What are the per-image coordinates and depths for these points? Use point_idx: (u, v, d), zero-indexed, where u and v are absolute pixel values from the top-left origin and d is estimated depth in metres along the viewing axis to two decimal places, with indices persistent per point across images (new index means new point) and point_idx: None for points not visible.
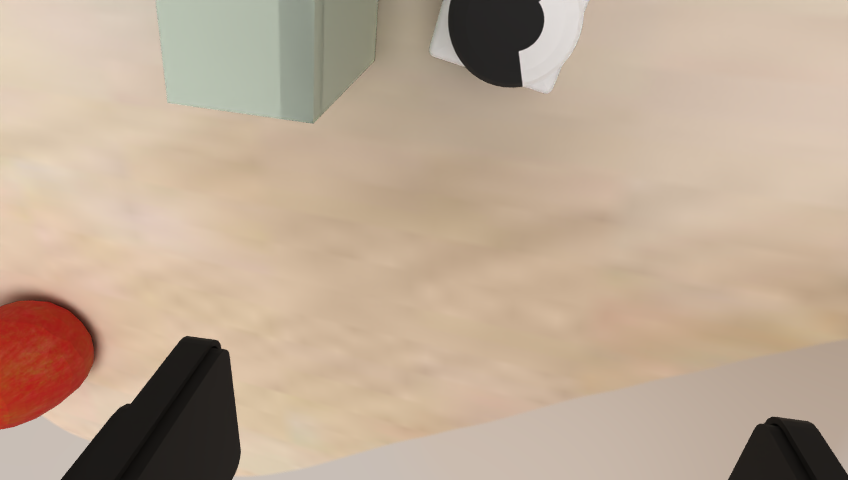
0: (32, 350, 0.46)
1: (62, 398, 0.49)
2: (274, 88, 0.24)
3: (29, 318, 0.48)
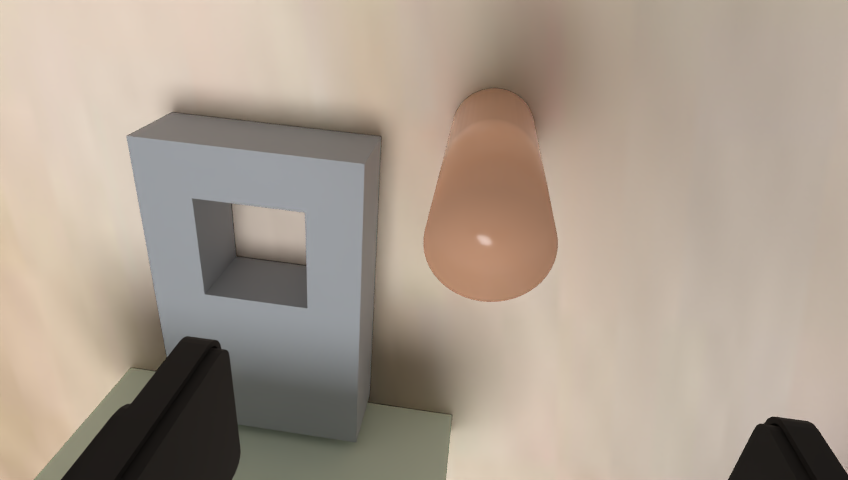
0: None
1: None
2: None
3: None
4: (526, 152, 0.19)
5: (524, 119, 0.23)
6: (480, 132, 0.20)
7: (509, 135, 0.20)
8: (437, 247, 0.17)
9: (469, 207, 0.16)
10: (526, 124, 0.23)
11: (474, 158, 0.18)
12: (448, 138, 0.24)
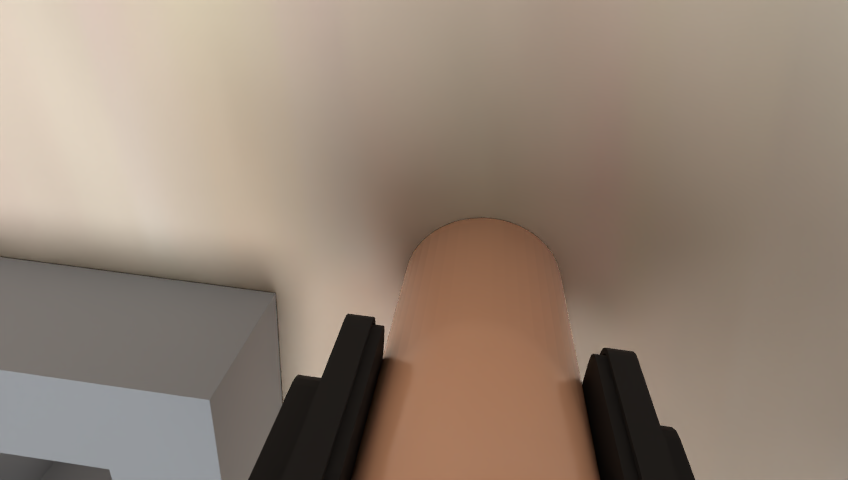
0: None
1: None
2: None
3: None
4: None
5: (549, 329, 0.10)
6: (440, 451, 0.07)
7: (518, 471, 0.07)
8: None
9: None
10: (555, 352, 0.10)
11: None
12: None
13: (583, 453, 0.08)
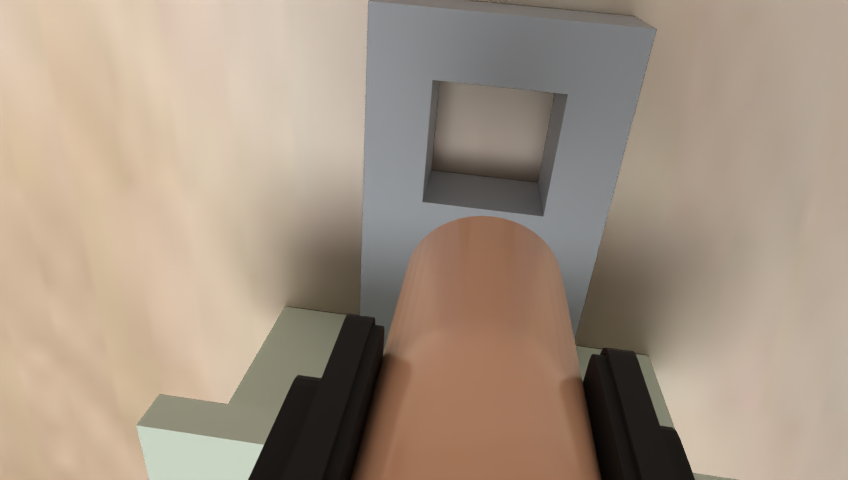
0: None
1: None
2: None
3: None
4: None
5: (550, 327, 0.10)
6: (440, 449, 0.07)
7: (519, 468, 0.07)
8: None
9: None
10: (556, 349, 0.10)
11: None
12: None
13: (584, 451, 0.08)
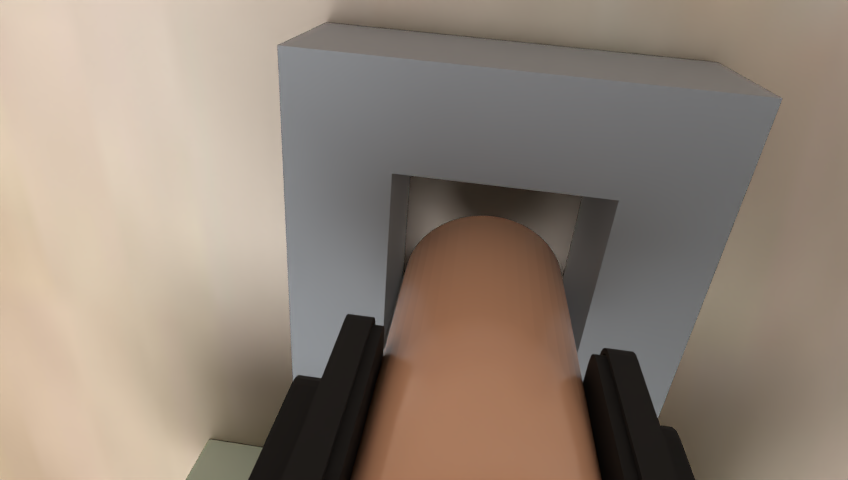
0: None
1: None
2: None
3: None
4: None
5: (550, 326, 0.10)
6: (440, 449, 0.07)
7: (518, 468, 0.07)
8: None
9: None
10: (556, 349, 0.10)
11: None
12: None
13: (584, 450, 0.08)
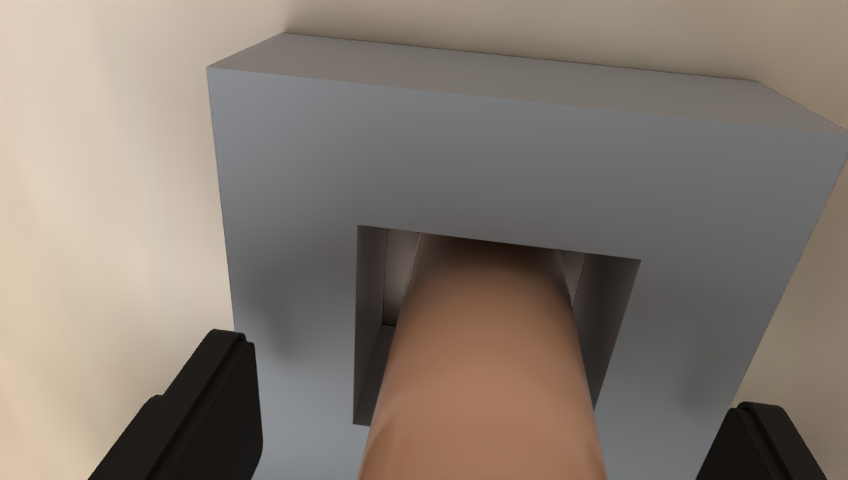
0: None
1: None
2: None
3: None
4: (568, 458, 0.08)
5: (549, 285, 0.12)
6: (455, 375, 0.09)
7: (522, 389, 0.08)
8: None
9: None
10: (554, 303, 0.11)
11: None
12: (401, 304, 0.13)
13: (578, 383, 0.09)
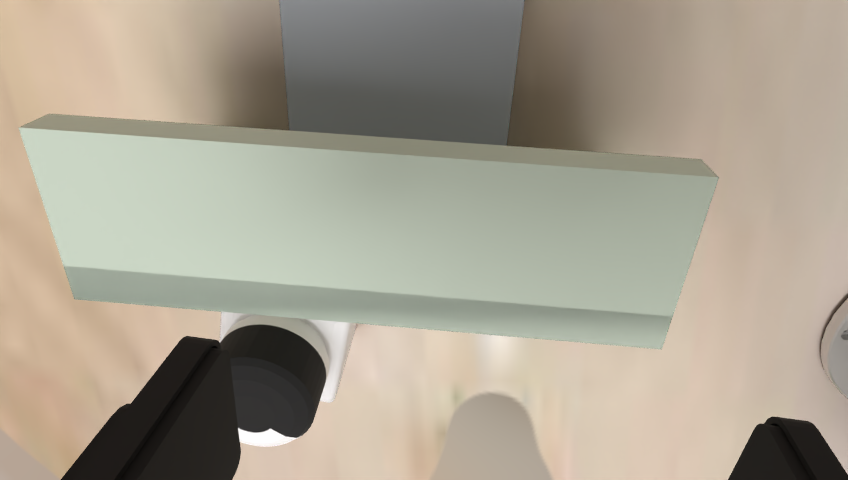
0: None
1: None
2: (97, 263, 0.20)
3: None
4: None
5: None
6: None
7: None
8: None
9: None
10: None
11: None
12: None
13: None
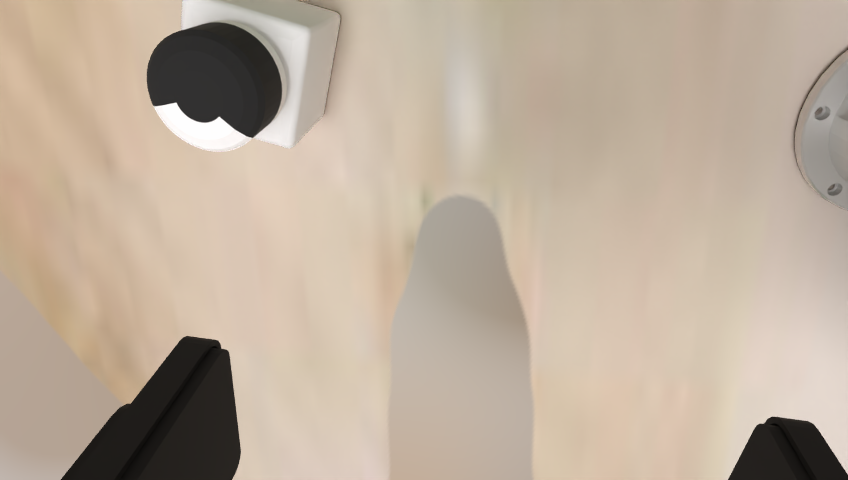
0: None
1: None
2: None
3: None
4: None
5: None
6: None
7: None
8: None
9: None
10: None
11: None
12: None
13: None
